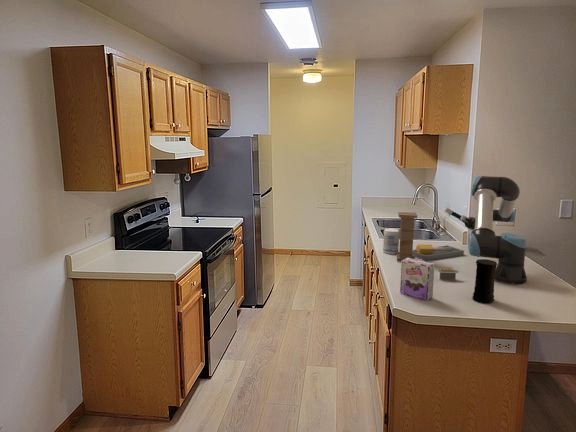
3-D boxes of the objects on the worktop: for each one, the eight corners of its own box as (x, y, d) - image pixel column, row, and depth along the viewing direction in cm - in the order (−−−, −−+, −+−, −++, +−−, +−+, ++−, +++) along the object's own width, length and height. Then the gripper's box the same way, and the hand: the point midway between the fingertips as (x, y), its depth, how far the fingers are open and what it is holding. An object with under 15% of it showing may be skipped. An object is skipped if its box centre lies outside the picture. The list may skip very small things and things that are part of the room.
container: (487, 296, 192) (491, 258, 188) (498, 303, 183) (501, 264, 179) (468, 296, 191) (471, 258, 188) (478, 304, 183) (481, 264, 179)
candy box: (399, 293, 196) (401, 259, 193) (405, 290, 200) (407, 257, 197) (426, 301, 186) (429, 265, 183) (433, 297, 190) (435, 263, 187)
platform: (426, 275, 221) (426, 264, 220) (460, 276, 220) (461, 264, 219) (432, 283, 209) (433, 271, 208) (469, 284, 208) (470, 271, 207)
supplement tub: (387, 255, 259) (388, 232, 256) (380, 251, 268) (381, 228, 265) (401, 253, 262) (402, 231, 259) (393, 249, 271) (394, 227, 268)
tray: (425, 261, 246) (425, 256, 246) (409, 255, 259) (410, 250, 258) (463, 255, 258) (464, 250, 257) (446, 249, 270) (447, 245, 270)
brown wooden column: (414, 262, 243) (417, 215, 238) (397, 261, 245) (399, 215, 240) (413, 257, 253) (415, 212, 248) (396, 257, 255) (398, 212, 250)
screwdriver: (420, 248, 254) (417, 244, 257) (418, 253, 256) (415, 249, 259) (453, 248, 260) (450, 244, 264) (451, 253, 263) (448, 249, 266)
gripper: (485, 236, 255) (465, 225, 245) (455, 222, 277) (436, 211, 266) (492, 226, 254) (472, 214, 244) (461, 212, 276) (442, 201, 265)
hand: (453, 213), depth 255 cm, fingers open, 13 cm apart
